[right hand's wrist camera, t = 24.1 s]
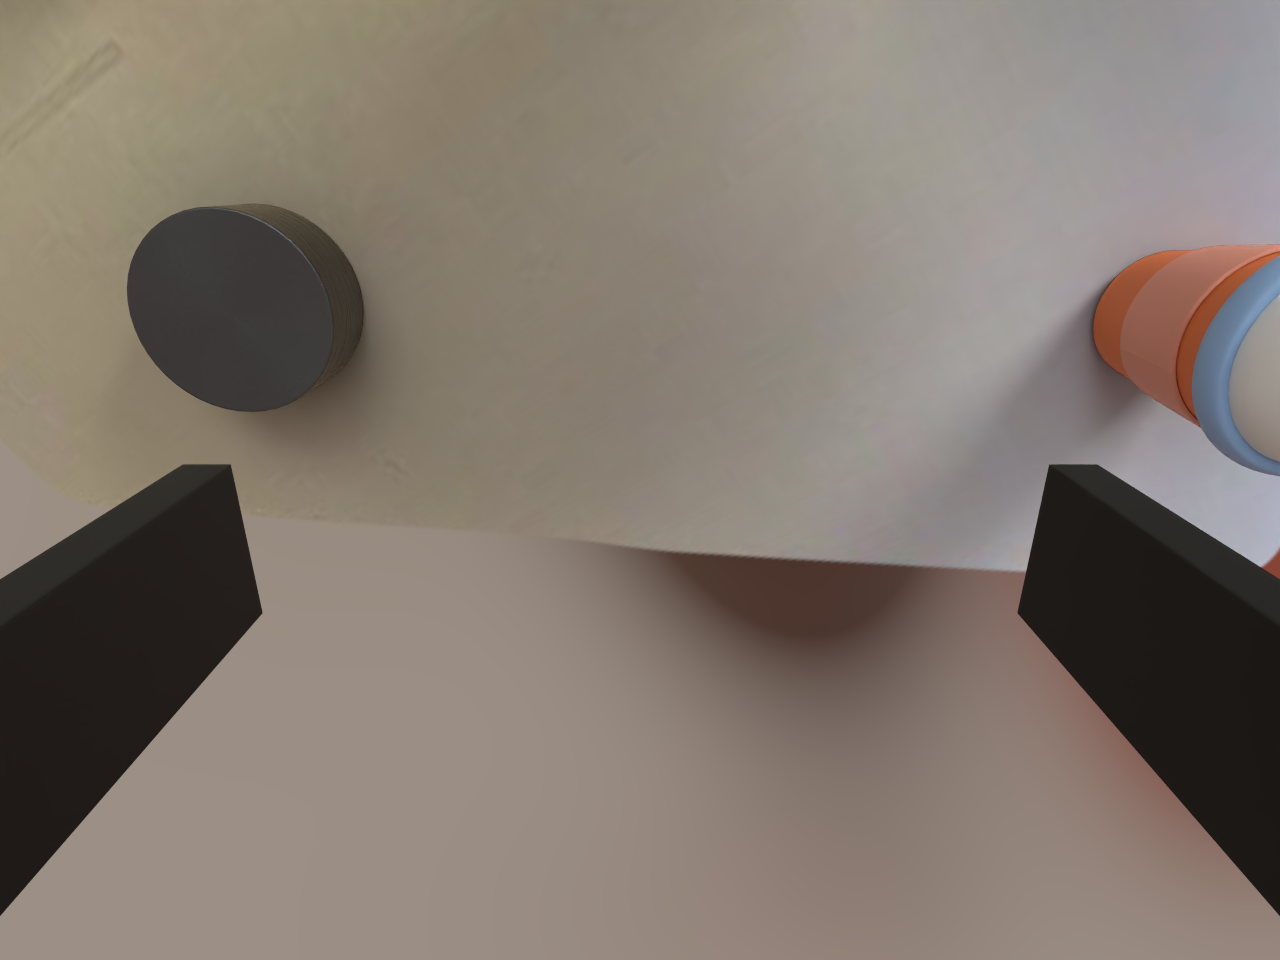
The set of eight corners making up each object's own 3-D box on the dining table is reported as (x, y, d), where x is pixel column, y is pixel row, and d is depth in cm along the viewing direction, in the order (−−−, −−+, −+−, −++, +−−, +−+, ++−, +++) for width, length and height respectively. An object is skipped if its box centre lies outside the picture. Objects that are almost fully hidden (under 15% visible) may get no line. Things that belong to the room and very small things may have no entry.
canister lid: (158, 203, 36) (102, 206, 32) (349, 203, 36) (316, 206, 32) (199, 389, 39) (153, 412, 35) (374, 389, 39) (346, 412, 35)
